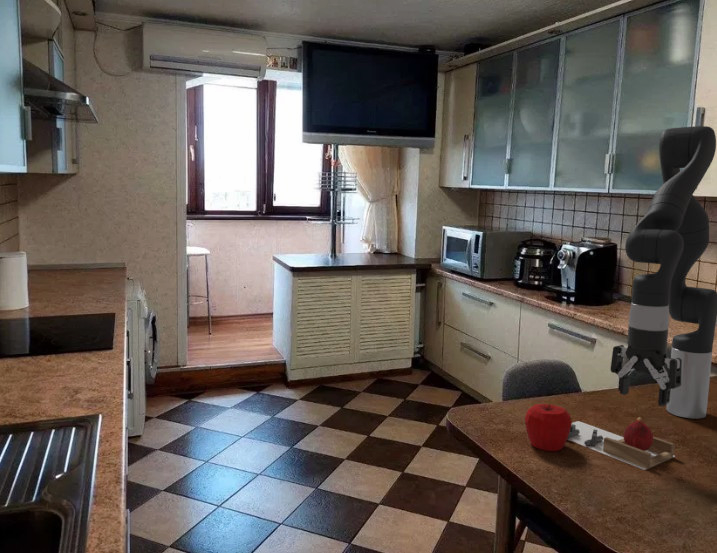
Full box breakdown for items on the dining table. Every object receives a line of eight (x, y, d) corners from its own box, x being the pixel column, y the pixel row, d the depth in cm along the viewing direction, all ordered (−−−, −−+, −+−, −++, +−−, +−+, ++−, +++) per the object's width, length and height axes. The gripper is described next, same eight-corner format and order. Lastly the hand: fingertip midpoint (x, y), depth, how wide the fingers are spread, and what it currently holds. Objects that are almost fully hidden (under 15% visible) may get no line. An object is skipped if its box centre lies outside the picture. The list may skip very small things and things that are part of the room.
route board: (578, 425, 150) (579, 411, 149) (675, 461, 130) (676, 445, 130) (540, 438, 142) (541, 423, 141) (638, 478, 122) (639, 461, 122)
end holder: (629, 441, 138) (630, 428, 137) (673, 457, 129) (674, 443, 129) (603, 451, 132) (604, 438, 131) (647, 468, 124) (648, 454, 123)
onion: (655, 460, 127) (658, 424, 126) (625, 457, 128) (628, 421, 128) (647, 449, 133) (650, 414, 132) (619, 447, 134) (622, 412, 133)
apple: (569, 445, 138) (572, 399, 136) (569, 462, 129) (573, 413, 127) (524, 439, 141) (527, 393, 139) (521, 455, 132) (524, 407, 130)
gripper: (692, 329, 123) (685, 405, 125) (626, 316, 135) (621, 387, 137) (672, 334, 119) (666, 413, 121) (606, 321, 130) (602, 393, 133)
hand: (642, 399), depth 129 cm, fingers open, 8 cm apart
